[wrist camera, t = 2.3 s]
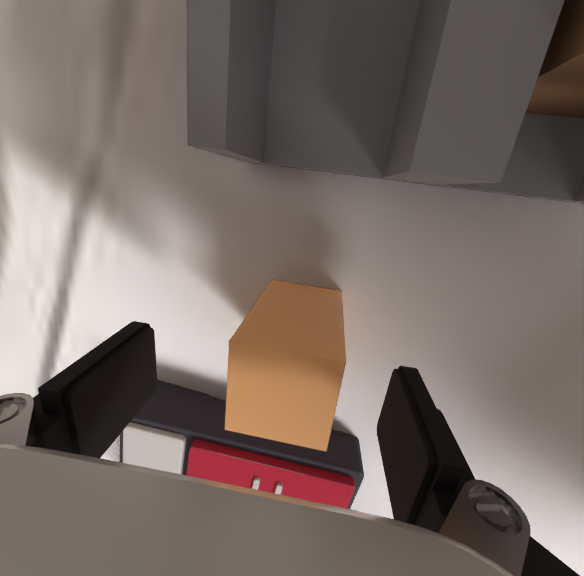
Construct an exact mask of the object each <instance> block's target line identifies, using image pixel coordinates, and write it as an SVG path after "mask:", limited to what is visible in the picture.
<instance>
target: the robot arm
mask: <svg viewBox="0 0 584 576" xmlns="http://www.w3.org/2000/svg"><path fill="white" fill-rule="evenodd" d="M156 387H157V372H156V355H155V338H154V330H153V328H151V327H150V325H149V324H147V323H141V322H135V321H133V322H131V323H130V324H128V325H127V326H125V327H124V328H122V329H121V330H120V331H118V332H117V333H115V334H114V335H113V336H111V337H110V338H108V339H107V340H105V341H104V342H103V343H101V344H100V345H98V346H97V347H96V348H94V349H93V350H91V351H90V352H89V353H87V354H86V355H84V356H83V357H81V358H80V359H79V360H77V361H76V362H74V363H73V364H72V365H70V366H69V367H67V368H66V369H64V370H63V371H62V372H60V373H59V374H57V375H56V376H55V377H53V378H52V379H50V380H49V381H47V382H46V383H45V384H43V385H42V386H40V387H39V388H38V391H39V394H38V395H37V396H35V397H34V398H32V397H31V396H30V395H28V394H24V393H13V394H6V395H2V396H0V576H580V575H578V574H577V573H576V572H574V571H573V570H572V569H571V568H569V567H568V566H567V565H566V564H564V563H563V562H562V561H561V560H559V559H558V558H557V557H556V556H554V555H553V554H552V553H551V552H549V551H548V550H547V549H546V548H544V547H543V546H542V545H541V544H539V543H538V542H537V541H536V540H534V539H533V538H532V537H531V536H530V525H529V522H528V519H527V517H526V515H525V514H524V512H523V511H522V509H521V508H520V506H519V505H518V504H517V503H516V502H515V501H514V500H513V499H512V498H511V497H510V496H509V495H508V494H506V493H505V492H504V491H503V490H501V489H500V488H498V487H496V486H494V485H493V484H491V483H488V482H485V481H482V480H475V478H474V476H473V474H472V472H471V470H470V468H469V466H468V464H467V462H466V460H465V458H464V456H463V454H462V452H461V450H460V448H459V446H458V444H457V442H456V440H455V438H454V436H453V434H452V432H451V430H450V428H449V426H448V424H447V422H446V420H445V418H444V416H443V414H442V412H441V411H440V410H438V409H436V407H435V405H434V402H433V400H432V398H431V396H430V394H429V392H428V390H427V388H426V386H425V384H424V382H423V380H422V378H421V376H420V374H419V372H418V370H417V369H416V368H411V367H405V366H400V367H399V368H398V369H394V370H393V372H392V376H391V379H390V383H389V386H388V390H387V393H386V396H385V400H384V403H383V407H382V410H381V413H380V417H379V420H378V424H377V436H378V441H379V446H380V451H381V456H382V461H383V466H384V471H385V476H386V481H387V486H388V491H389V496H390V502H391V507H392V512H393V517H394V519H390V518H386V517H381V516H377V515H372V514H368V513H364V512H359V511H355V510H350V509H346V508H342V507H337V506H332V505H327V504H323V503H318V502H313V501H308V500H303V499H299V498H294V497H289V496H284V495H280V494H275V493H270V492H265V491H260V490H256V489H251V488H246V487H241V486H236V485H231V484H226V483H221V482H216V481H211V480H206V479H201V478H196V477H191V476H186V475H181V474H177V473H172V472H167V471H162V470H156V469H151V468H146V467H141V466H136V465H131V464H126V463H121V462H116V461H110V460H105V459H100V458H101V456H102V455H103V454H104V453H105V451H106V450H107V449H108V448H109V447H110V445H111V444H112V443H113V442H114V441H115V439H116V438H117V437H118V436H119V435H120V433H121V432H122V431H123V430H124V429H125V427H126V426H127V425H128V424H129V423H130V421H131V420H132V419H133V418H134V416H135V415H136V414H137V413H138V412H139V410H140V409H141V408H142V407H143V406H144V404H145V403H146V402H147V401H148V400H149V398H150V397H151V396H152V395H153V394H154V392H155V390H156Z"/></svg>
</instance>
